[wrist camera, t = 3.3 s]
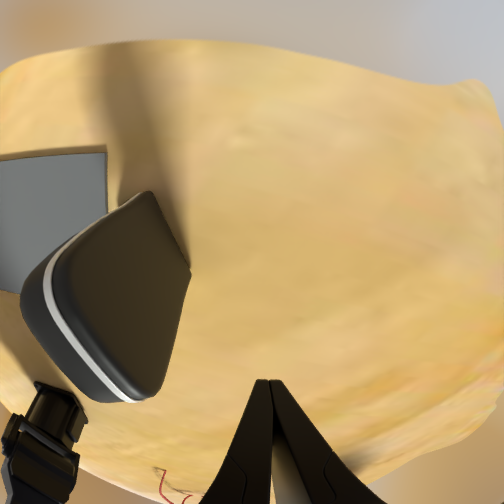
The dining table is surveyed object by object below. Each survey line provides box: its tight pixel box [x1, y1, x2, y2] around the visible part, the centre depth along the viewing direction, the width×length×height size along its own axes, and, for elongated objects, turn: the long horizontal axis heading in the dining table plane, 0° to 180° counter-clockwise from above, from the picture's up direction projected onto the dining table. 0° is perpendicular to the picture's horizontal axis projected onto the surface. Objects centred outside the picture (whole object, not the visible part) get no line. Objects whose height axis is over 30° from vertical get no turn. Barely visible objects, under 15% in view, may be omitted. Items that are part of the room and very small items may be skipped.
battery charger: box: [20, 191, 191, 403], centre depth 13 cm, size 7×4×11 cm, turn 20°
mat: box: [0, 153, 108, 294], centre depth 18 cm, size 16×12×1 cm
